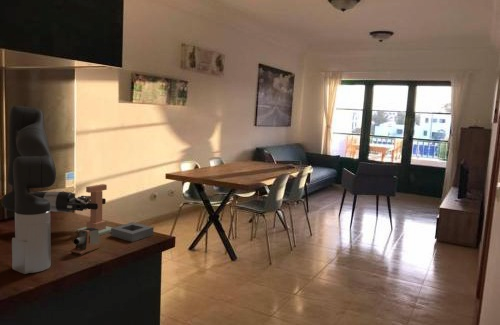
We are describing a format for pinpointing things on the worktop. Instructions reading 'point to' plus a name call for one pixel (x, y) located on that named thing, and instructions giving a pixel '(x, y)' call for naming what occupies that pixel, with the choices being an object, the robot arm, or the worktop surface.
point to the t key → (97, 214)
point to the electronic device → (86, 241)
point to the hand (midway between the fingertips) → (101, 203)
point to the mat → (101, 232)
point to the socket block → (132, 231)
